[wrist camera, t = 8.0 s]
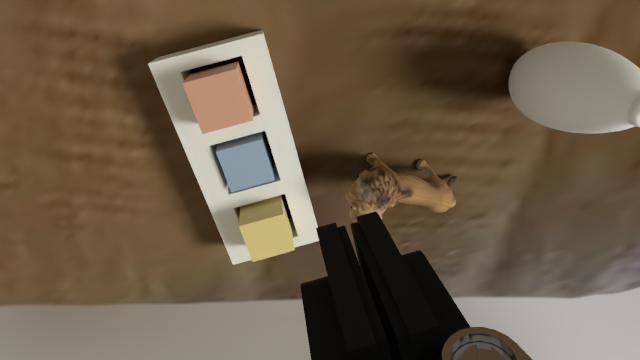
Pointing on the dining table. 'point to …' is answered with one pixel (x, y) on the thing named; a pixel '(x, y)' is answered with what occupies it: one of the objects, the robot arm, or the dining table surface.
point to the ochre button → (266, 228)
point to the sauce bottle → (577, 88)
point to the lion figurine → (397, 189)
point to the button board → (203, 146)
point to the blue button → (246, 161)
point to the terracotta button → (219, 97)
